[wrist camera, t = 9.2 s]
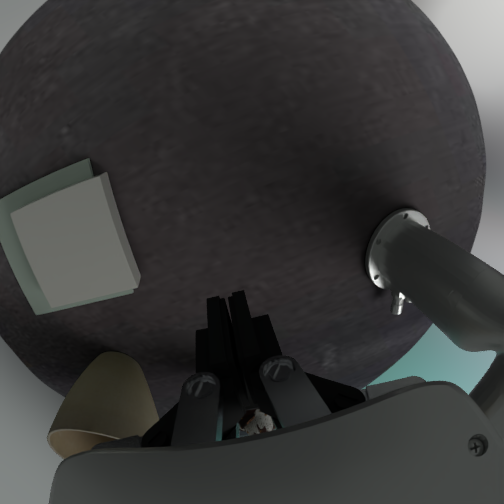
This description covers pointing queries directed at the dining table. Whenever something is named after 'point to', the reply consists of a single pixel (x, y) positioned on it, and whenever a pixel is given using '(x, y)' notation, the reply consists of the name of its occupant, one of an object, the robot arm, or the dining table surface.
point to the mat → (5, 232)
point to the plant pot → (103, 406)
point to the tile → (77, 243)
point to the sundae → (255, 419)
